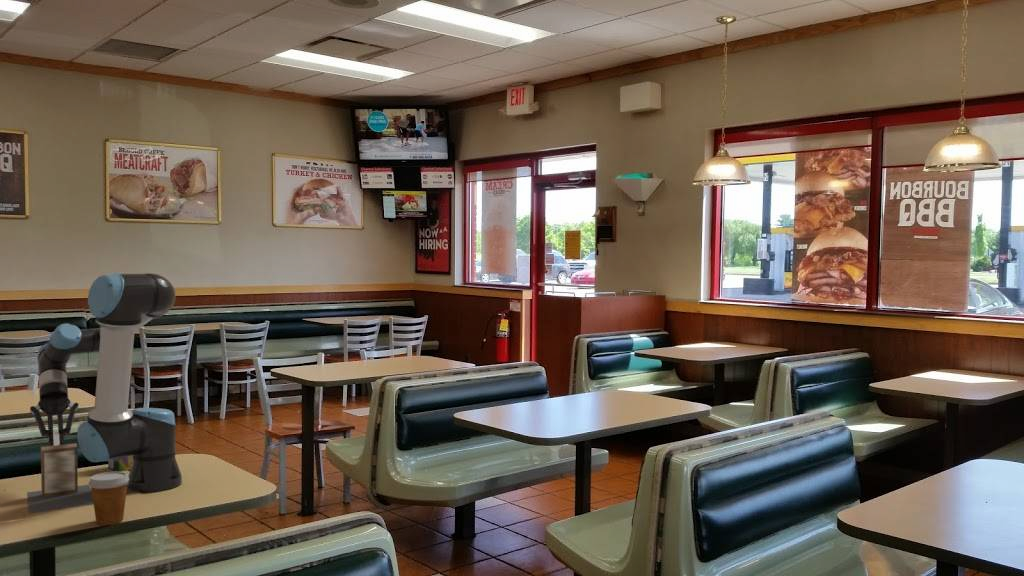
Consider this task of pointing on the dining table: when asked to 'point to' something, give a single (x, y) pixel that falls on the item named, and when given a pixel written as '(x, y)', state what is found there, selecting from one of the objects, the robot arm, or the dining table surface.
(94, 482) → the disposable coffee cup
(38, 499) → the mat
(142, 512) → the dining table surface
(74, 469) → the menu board
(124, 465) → the chalk box
